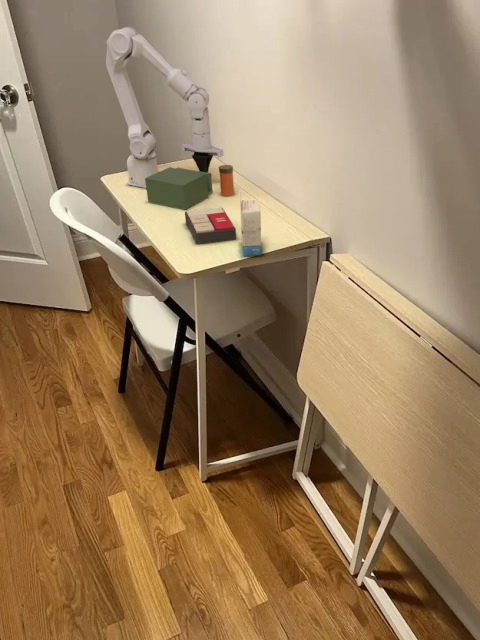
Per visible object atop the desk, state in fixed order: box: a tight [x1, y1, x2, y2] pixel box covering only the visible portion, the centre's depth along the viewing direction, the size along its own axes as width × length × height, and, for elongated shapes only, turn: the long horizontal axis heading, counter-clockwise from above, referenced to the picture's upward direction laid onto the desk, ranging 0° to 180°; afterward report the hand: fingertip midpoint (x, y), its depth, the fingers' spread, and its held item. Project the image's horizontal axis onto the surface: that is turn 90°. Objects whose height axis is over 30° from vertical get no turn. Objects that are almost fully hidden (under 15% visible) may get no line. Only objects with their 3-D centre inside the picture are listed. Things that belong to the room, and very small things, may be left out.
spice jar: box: [218, 164, 235, 197], centre depth 179 cm, size 4×4×8 cm
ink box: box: [239, 188, 262, 257], centre depth 143 cm, size 9×5×15 cm, turn 5°
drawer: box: [176, 167, 213, 193], centre depth 179 cm, size 15×13×6 cm
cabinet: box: [145, 166, 209, 211], centre depth 175 cm, size 12×14×7 cm
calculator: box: [184, 206, 237, 245], centre depth 156 cm, size 11×4×15 cm
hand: (204, 176), depth 186 cm, fingers closed, pressing on drawer
